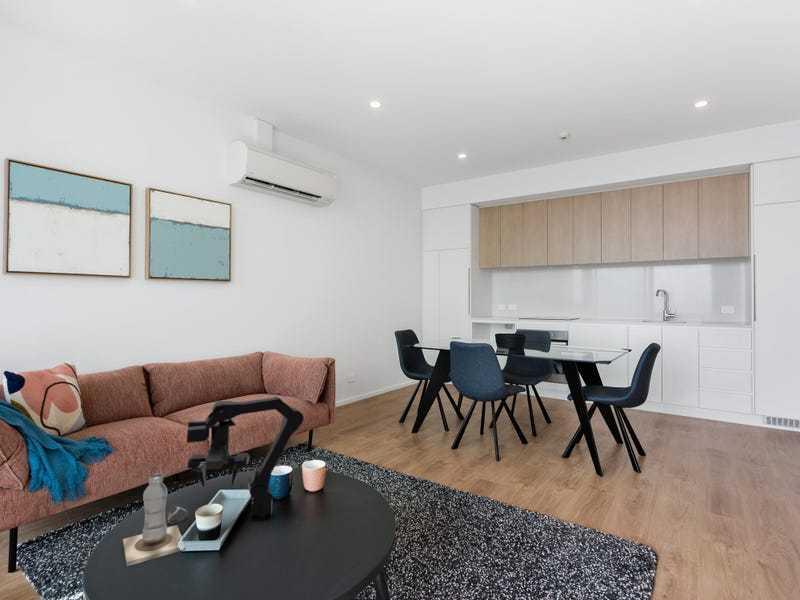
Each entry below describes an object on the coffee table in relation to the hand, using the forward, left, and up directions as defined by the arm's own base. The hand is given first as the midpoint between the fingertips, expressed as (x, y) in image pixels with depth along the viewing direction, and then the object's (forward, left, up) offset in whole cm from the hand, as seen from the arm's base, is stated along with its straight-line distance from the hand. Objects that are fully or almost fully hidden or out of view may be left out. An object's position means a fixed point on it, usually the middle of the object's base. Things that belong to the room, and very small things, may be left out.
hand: (218, 485), depth 144 cm
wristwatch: (+14, -4, -13) cm, 20 cm away
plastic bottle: (+16, +11, -12) cm, 22 cm away
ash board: (+16, +11, -13) cm, 23 cm away
